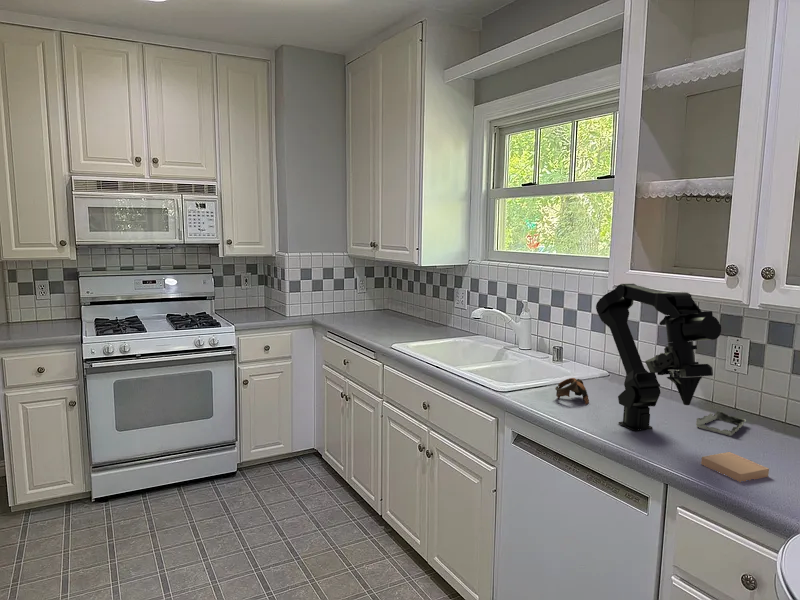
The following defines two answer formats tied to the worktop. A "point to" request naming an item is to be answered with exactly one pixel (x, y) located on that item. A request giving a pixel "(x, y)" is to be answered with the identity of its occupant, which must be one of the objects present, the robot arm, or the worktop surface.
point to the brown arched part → (572, 389)
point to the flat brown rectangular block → (735, 466)
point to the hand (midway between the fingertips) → (686, 405)
